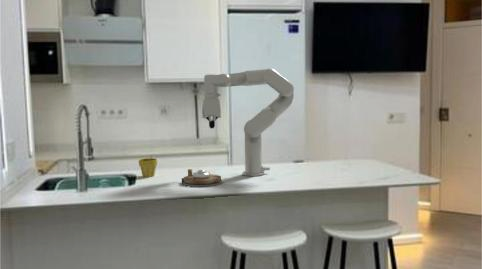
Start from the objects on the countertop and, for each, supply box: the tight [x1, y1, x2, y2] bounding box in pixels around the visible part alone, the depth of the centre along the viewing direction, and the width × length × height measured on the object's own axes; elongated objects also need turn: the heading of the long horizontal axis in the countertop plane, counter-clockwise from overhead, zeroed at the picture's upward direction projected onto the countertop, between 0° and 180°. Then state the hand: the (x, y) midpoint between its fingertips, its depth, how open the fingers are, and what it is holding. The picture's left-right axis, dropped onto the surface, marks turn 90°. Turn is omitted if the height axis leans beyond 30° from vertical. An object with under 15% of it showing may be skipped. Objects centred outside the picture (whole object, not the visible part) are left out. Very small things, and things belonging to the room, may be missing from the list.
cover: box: [192, 169, 211, 179], centre depth 260 cm, size 9×9×4 cm
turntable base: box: [181, 177, 224, 188], centre depth 261 cm, size 22×22×3 cm
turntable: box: [182, 168, 222, 185], centre depth 261 cm, size 20×20×5 cm
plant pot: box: [138, 157, 158, 178], centre depth 283 cm, size 10×10×10 cm
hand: (212, 128), depth 282 cm, fingers closed
